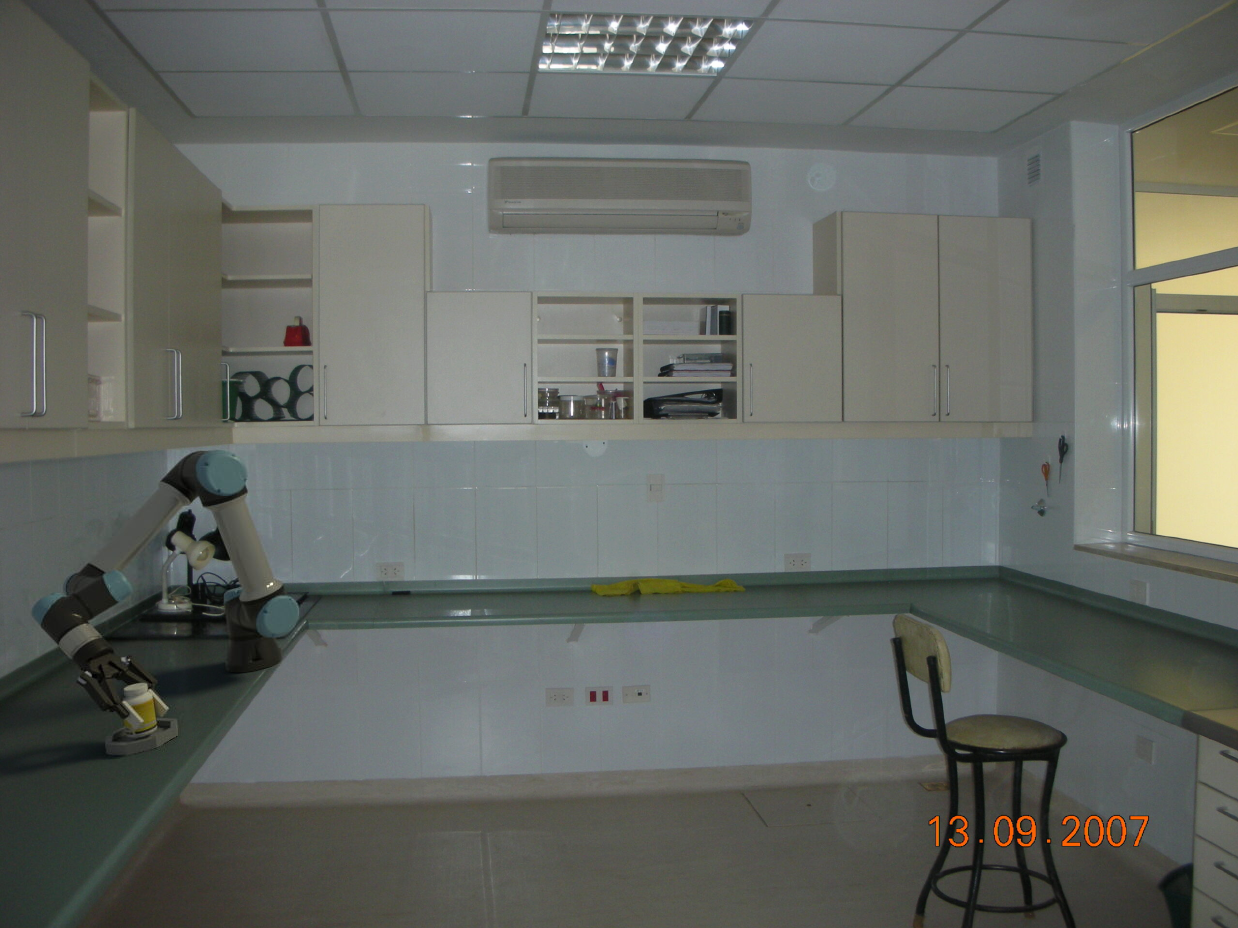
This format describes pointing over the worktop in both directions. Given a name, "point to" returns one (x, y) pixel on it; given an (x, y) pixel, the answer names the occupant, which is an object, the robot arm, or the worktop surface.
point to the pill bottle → (140, 709)
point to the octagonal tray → (141, 739)
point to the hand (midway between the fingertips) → (152, 718)
